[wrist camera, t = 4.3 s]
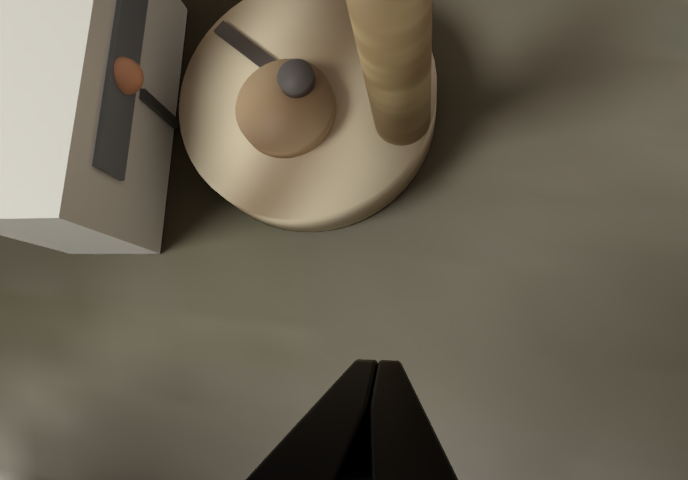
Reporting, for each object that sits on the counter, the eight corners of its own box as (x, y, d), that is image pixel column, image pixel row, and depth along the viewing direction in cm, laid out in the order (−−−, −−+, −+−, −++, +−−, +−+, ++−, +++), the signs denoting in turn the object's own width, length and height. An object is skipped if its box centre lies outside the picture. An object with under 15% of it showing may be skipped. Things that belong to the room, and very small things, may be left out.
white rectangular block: (178, 253, 24) (83, 217, 18) (71, 254, 25) (-58, 219, 19) (204, 8, 27) (130, -104, 21) (107, 17, 28) (7, -87, 22)
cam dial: (165, 187, 25) (-43, 60, 14) (257, -10, 27) (136, -264, 16) (384, 267, 22) (341, 187, 11) (470, 41, 24) (508, -223, 13)
